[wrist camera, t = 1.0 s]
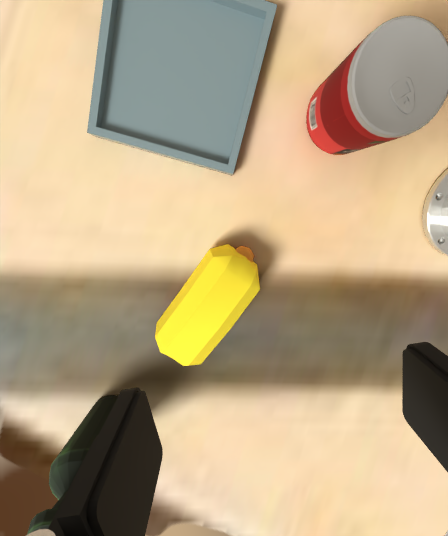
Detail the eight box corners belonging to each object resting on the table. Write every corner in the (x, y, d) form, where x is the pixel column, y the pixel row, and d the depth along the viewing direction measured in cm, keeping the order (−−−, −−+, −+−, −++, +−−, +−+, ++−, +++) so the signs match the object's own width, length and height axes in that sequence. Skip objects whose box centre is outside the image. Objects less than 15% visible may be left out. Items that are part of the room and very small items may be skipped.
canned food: (334, 170, 32) (393, 158, 21) (289, 118, 30) (329, 77, 20) (385, 119, 31) (475, 79, 20) (341, 62, 29) (413, -15, 18)
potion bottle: (88, 432, 41) (-6, 607, 24) (86, 387, 39) (-18, 543, 21) (142, 435, 41) (89, 609, 24) (143, 391, 39) (85, 546, 22)
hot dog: (147, 333, 37) (193, 361, 38) (133, 362, 31) (189, 394, 32) (223, 227, 33) (271, 262, 35) (225, 235, 27) (284, 277, 28)
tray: (272, 18, 28) (277, 4, 26) (232, 175, 32) (233, 174, 30) (118, -36, 26) (110, -55, 24) (95, 136, 30) (87, 132, 28)
